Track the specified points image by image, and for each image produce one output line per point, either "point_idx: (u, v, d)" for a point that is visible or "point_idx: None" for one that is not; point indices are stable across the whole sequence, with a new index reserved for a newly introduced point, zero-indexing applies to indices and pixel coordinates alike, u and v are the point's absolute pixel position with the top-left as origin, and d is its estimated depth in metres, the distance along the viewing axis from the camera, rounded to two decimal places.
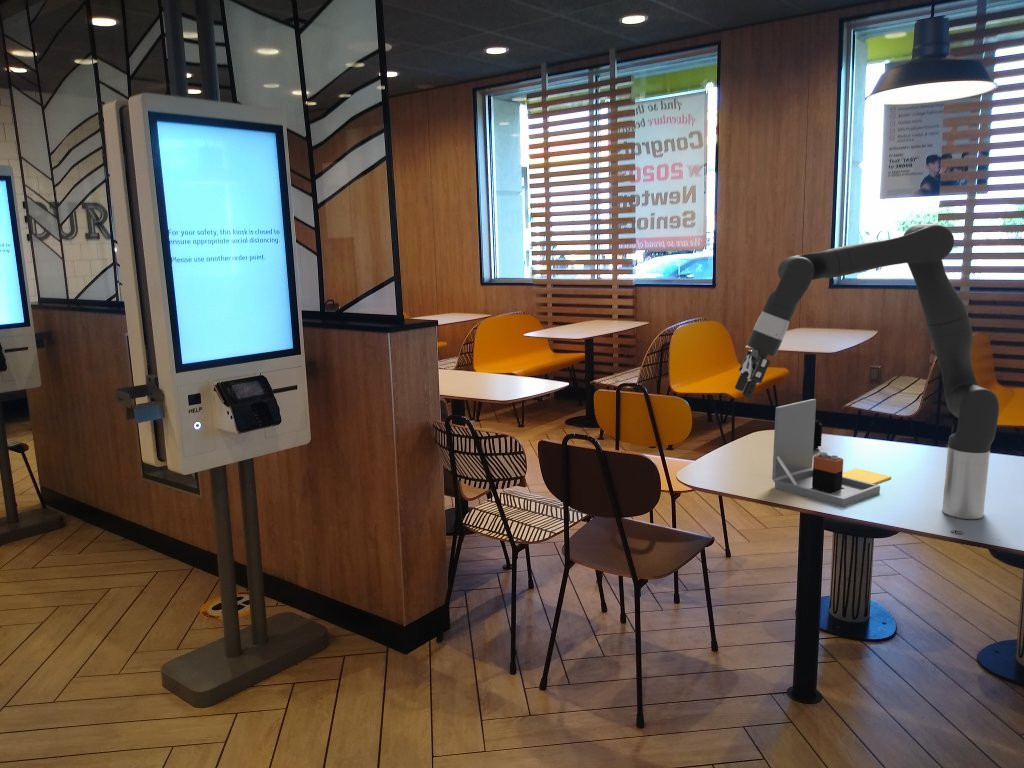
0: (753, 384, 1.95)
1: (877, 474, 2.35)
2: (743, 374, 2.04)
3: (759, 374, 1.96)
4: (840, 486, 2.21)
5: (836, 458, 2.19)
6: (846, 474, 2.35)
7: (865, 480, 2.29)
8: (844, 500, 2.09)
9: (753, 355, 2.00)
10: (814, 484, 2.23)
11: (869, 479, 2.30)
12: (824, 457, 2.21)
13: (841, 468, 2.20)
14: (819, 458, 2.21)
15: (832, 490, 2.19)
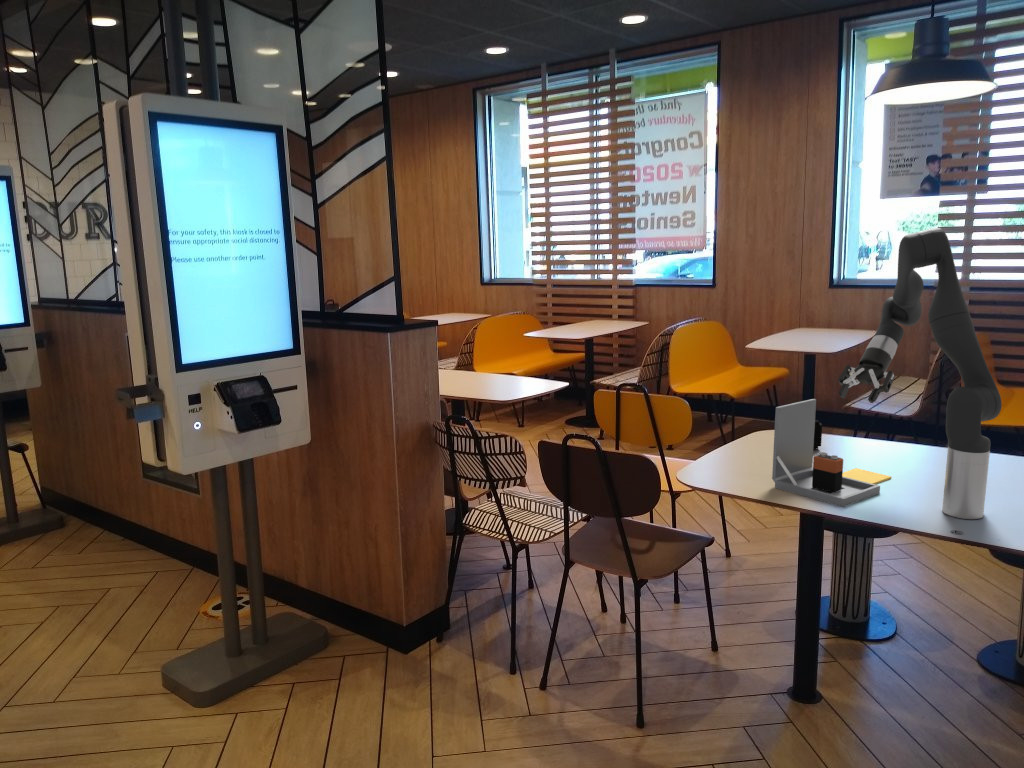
0: None
1: (877, 474, 2.35)
2: None
3: None
4: (840, 486, 2.21)
5: (836, 458, 2.19)
6: (846, 474, 2.35)
7: (865, 480, 2.29)
8: (844, 500, 2.09)
9: None
10: (814, 484, 2.23)
11: (869, 479, 2.30)
12: (824, 457, 2.21)
13: (841, 468, 2.20)
14: (819, 458, 2.21)
15: (832, 490, 2.19)
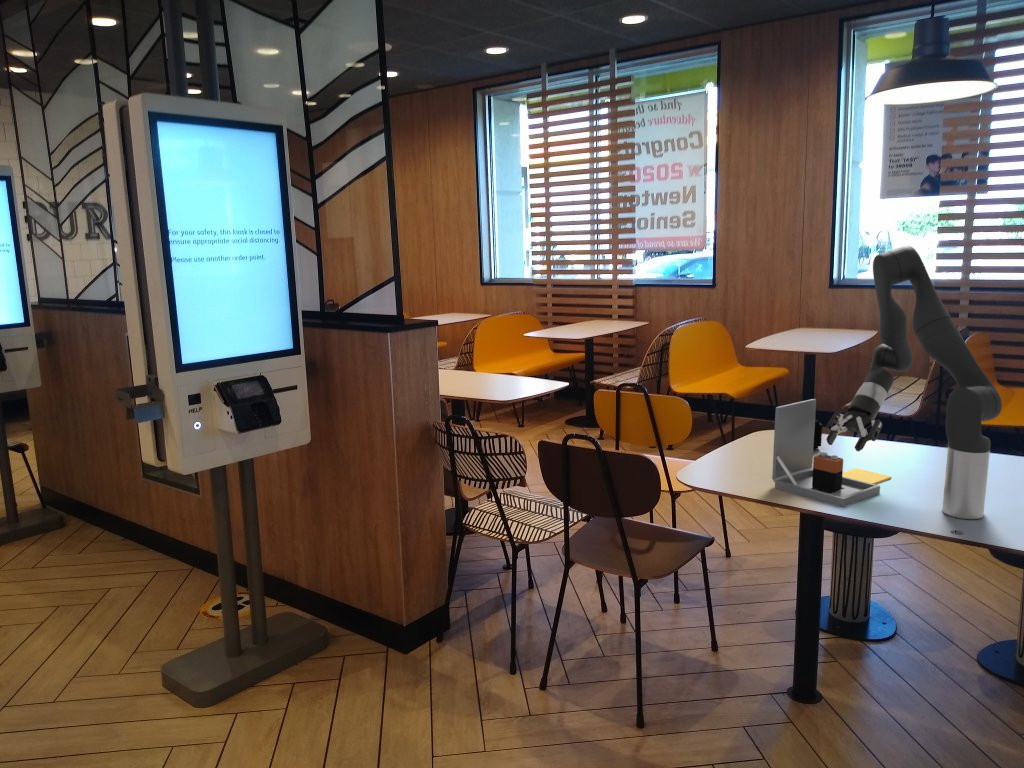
0: None
1: (877, 474, 2.35)
2: None
3: None
4: (840, 486, 2.21)
5: (836, 458, 2.19)
6: (846, 474, 2.35)
7: (865, 480, 2.29)
8: (844, 500, 2.09)
9: None
10: (814, 484, 2.23)
11: (869, 479, 2.30)
12: (824, 457, 2.21)
13: (841, 468, 2.20)
14: (819, 458, 2.21)
15: (832, 490, 2.19)
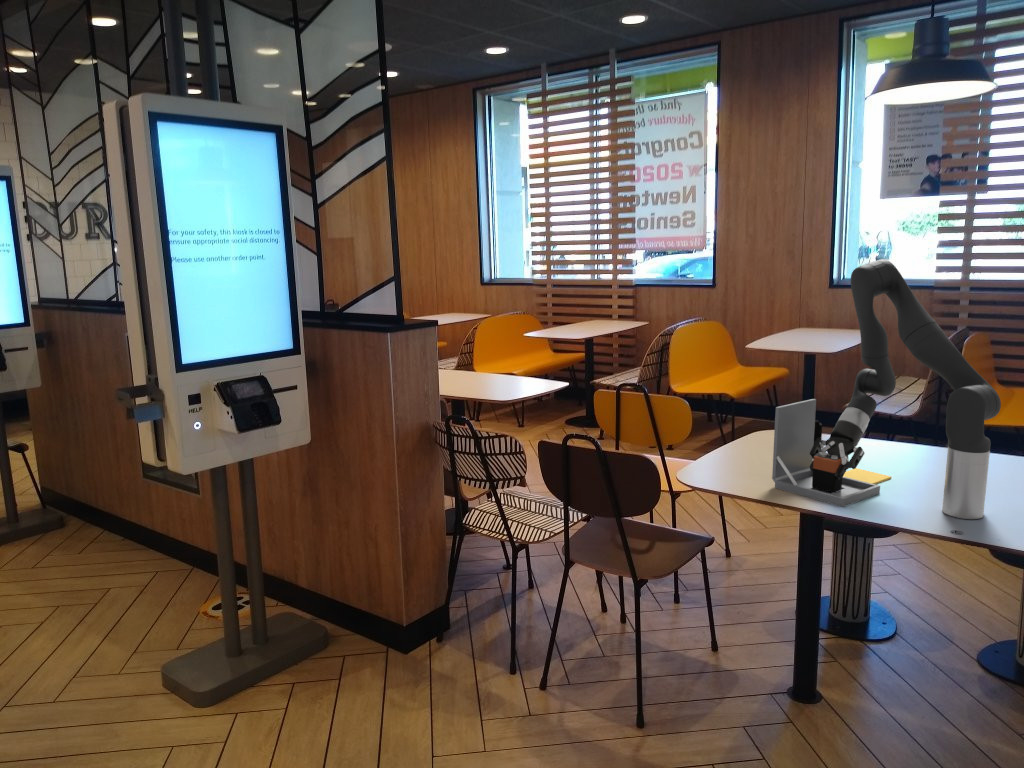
0: None
1: (877, 474, 2.35)
2: None
3: None
4: (840, 486, 2.21)
5: (836, 458, 2.19)
6: (846, 474, 2.35)
7: (865, 480, 2.29)
8: (844, 500, 2.09)
9: None
10: (814, 484, 2.23)
11: (869, 479, 2.30)
12: (824, 457, 2.21)
13: None
14: (819, 458, 2.21)
15: (832, 490, 2.19)
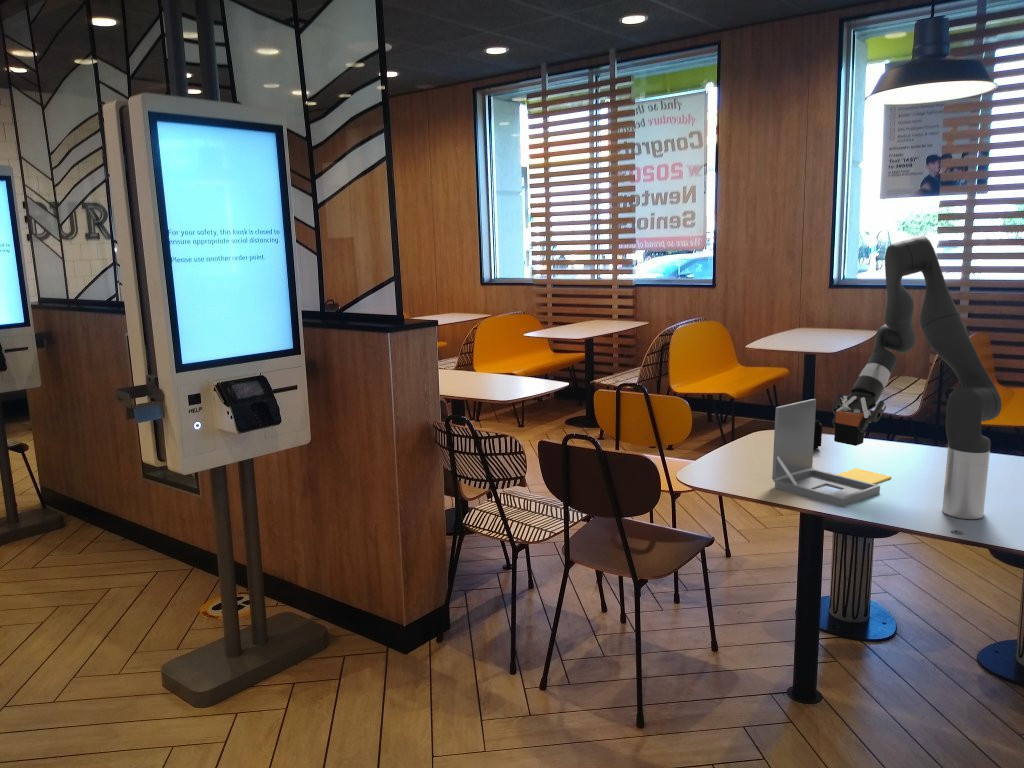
0: None
1: (877, 474, 2.35)
2: None
3: None
4: (862, 440, 2.25)
5: (858, 412, 2.23)
6: (846, 474, 2.35)
7: (865, 480, 2.29)
8: (844, 500, 2.09)
9: None
10: (836, 438, 2.27)
11: (869, 479, 2.30)
12: (846, 411, 2.25)
13: None
14: (841, 412, 2.25)
15: (854, 443, 2.23)
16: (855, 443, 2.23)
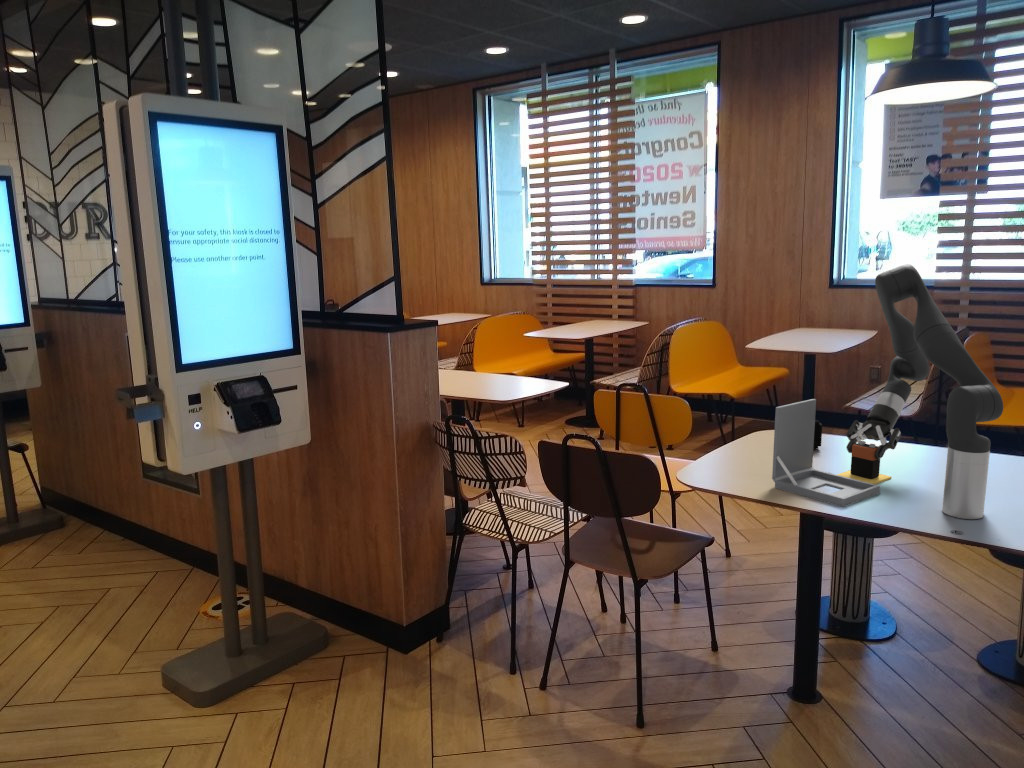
0: None
1: None
2: None
3: None
4: (878, 473, 2.32)
5: (874, 446, 2.30)
6: (846, 474, 2.35)
7: (865, 480, 2.29)
8: (844, 500, 2.09)
9: None
10: (852, 471, 2.34)
11: (869, 479, 2.30)
12: (862, 445, 2.32)
13: None
14: (857, 446, 2.32)
15: (870, 477, 2.30)
16: (870, 476, 2.30)
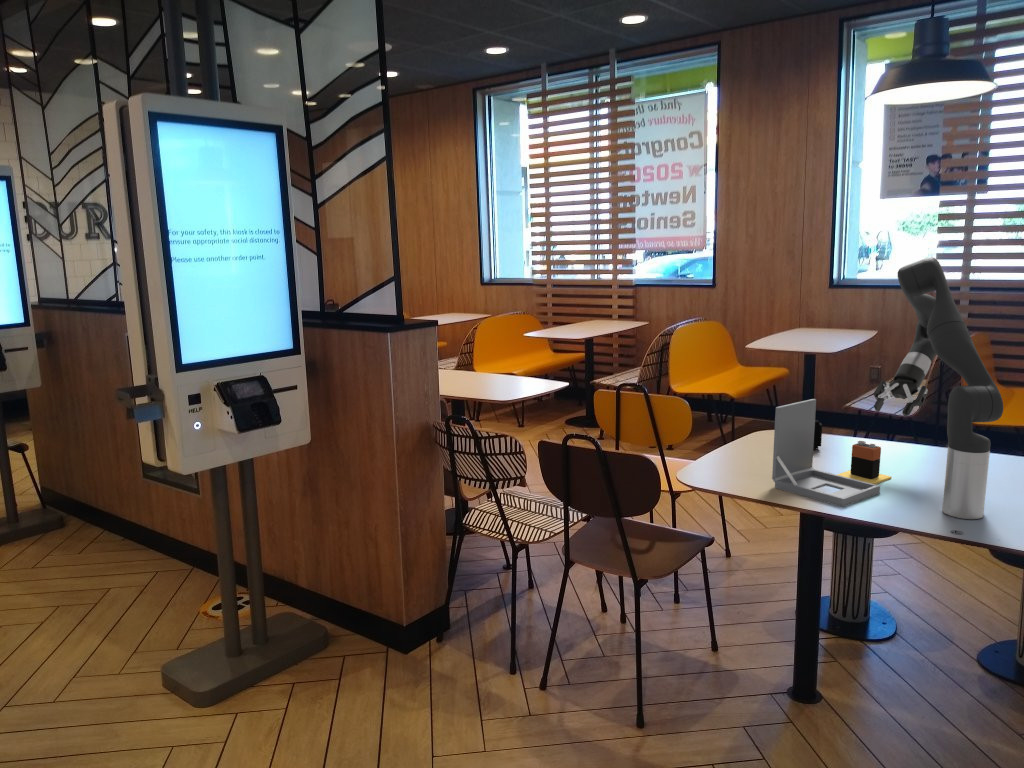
0: None
1: None
2: None
3: None
4: (878, 473, 2.32)
5: (874, 446, 2.30)
6: (846, 474, 2.35)
7: (865, 480, 2.29)
8: (844, 500, 2.09)
9: None
10: (852, 471, 2.34)
11: (869, 479, 2.30)
12: (862, 445, 2.32)
13: (879, 456, 2.31)
14: (857, 446, 2.32)
15: (870, 477, 2.30)
16: (870, 476, 2.30)
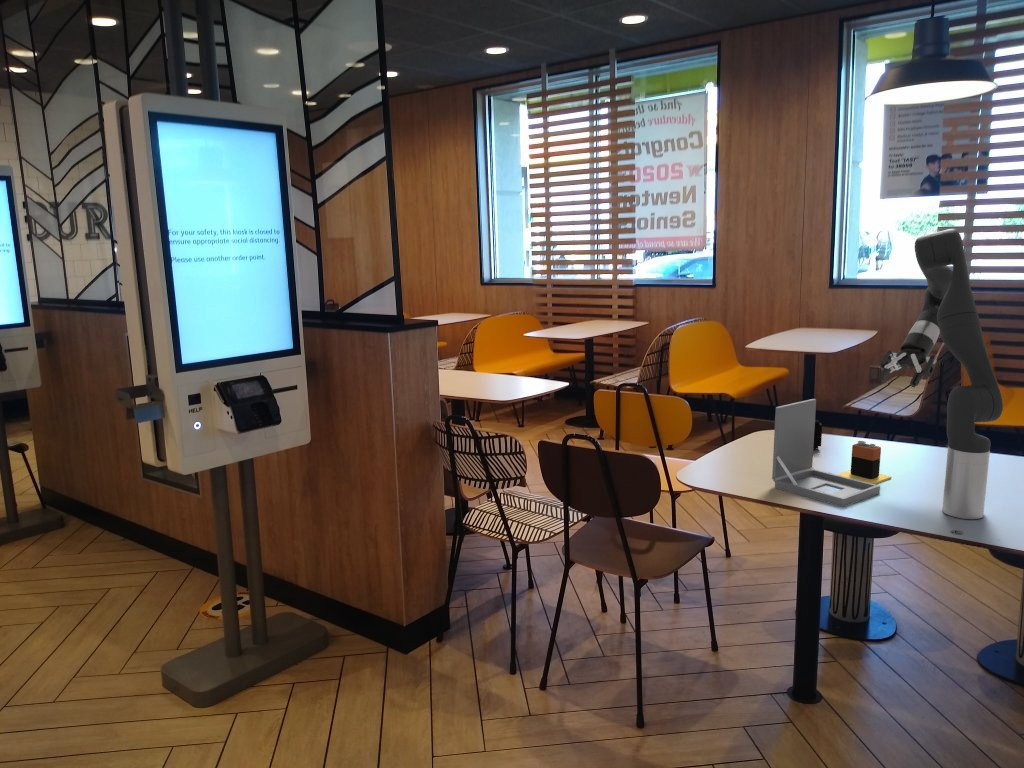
0: None
1: None
2: None
3: None
4: (878, 473, 2.32)
5: (874, 446, 2.30)
6: (846, 474, 2.35)
7: (865, 480, 2.29)
8: (844, 500, 2.09)
9: None
10: (852, 471, 2.34)
11: (869, 479, 2.30)
12: (862, 445, 2.32)
13: (879, 456, 2.31)
14: (857, 446, 2.32)
15: (870, 477, 2.30)
16: (870, 476, 2.30)
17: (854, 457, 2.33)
